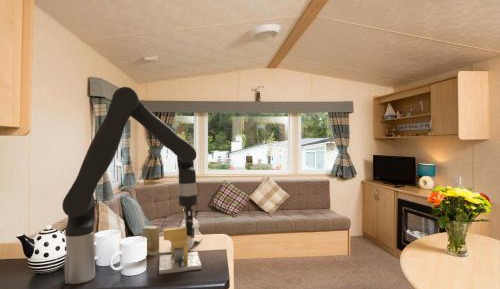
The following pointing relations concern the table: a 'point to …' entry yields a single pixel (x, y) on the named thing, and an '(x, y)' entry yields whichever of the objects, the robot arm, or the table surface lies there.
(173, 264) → the post base
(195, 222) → the cherub figurine
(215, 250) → the table surface
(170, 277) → the table surface
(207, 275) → the table surface
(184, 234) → the yellow irregular block
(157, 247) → the skincare box
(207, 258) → the table surface
